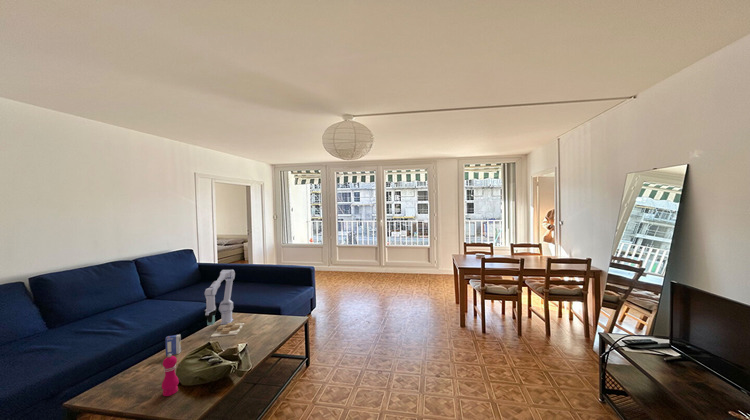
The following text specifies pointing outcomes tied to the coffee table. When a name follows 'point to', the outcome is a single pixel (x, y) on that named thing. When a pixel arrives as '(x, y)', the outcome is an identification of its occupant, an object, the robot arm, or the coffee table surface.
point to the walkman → (173, 344)
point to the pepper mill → (170, 376)
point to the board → (233, 332)
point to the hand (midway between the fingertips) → (211, 321)
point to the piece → (212, 320)
